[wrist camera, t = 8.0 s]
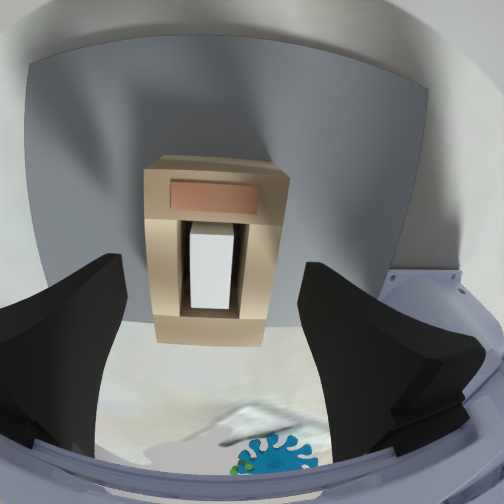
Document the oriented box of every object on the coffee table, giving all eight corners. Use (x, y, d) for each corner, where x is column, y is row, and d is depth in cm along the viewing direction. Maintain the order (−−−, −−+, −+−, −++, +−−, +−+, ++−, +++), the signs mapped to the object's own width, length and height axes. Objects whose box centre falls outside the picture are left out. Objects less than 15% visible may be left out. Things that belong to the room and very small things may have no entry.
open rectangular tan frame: (253, 301, 16) (261, 348, 13) (167, 298, 15) (156, 344, 12) (272, 161, 12) (291, 178, 9) (164, 155, 12) (142, 169, 8)
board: (418, 88, 12) (471, 90, 8) (362, 313, 19) (388, 356, 15) (38, 65, 9) (-11, 60, 5) (62, 303, 16) (36, 346, 12)
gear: (314, 432, 25) (321, 494, 22) (313, 416, 31) (320, 473, 28) (220, 440, 27) (234, 499, 24) (233, 424, 32) (244, 479, 30)
